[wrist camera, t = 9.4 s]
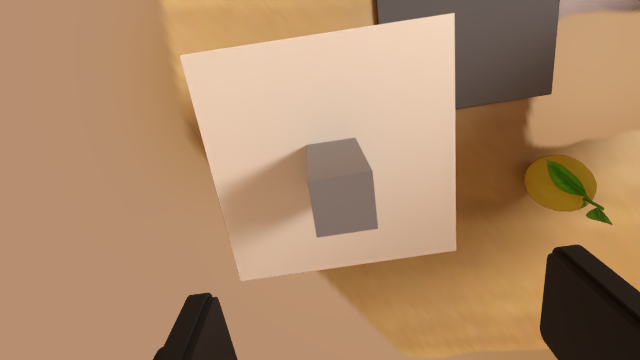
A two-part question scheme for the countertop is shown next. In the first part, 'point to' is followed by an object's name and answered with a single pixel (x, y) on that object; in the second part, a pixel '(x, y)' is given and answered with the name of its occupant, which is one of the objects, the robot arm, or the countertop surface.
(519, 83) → the mat
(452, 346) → the countertop surface
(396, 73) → the lid
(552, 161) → the lemon
